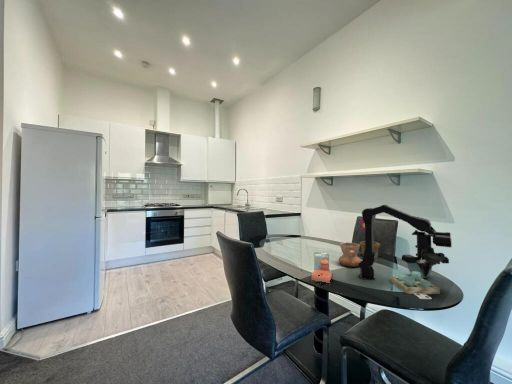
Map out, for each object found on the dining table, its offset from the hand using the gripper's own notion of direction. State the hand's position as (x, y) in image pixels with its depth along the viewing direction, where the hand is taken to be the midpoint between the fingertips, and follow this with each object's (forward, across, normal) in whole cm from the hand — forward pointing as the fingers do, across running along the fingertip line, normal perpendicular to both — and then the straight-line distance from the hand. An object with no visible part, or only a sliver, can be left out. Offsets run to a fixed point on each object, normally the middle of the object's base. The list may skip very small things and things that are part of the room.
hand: (425, 276), depth 109 cm
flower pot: (+7, +8, +19) cm, 22 cm away
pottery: (+7, -46, +15) cm, 49 cm away
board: (+7, -4, +4) cm, 8 cm away
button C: (+5, 0, +7) cm, 8 cm away
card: (+7, -6, -7) cm, 11 cm away
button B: (+5, -7, 0) cm, 8 cm away
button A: (+7, -7, +7) cm, 12 cm away
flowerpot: (+7, -3, +60) cm, 60 cm away
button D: (+7, 0, 0) cm, 7 cm away
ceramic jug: (+7, -24, +40) cm, 47 cm away
